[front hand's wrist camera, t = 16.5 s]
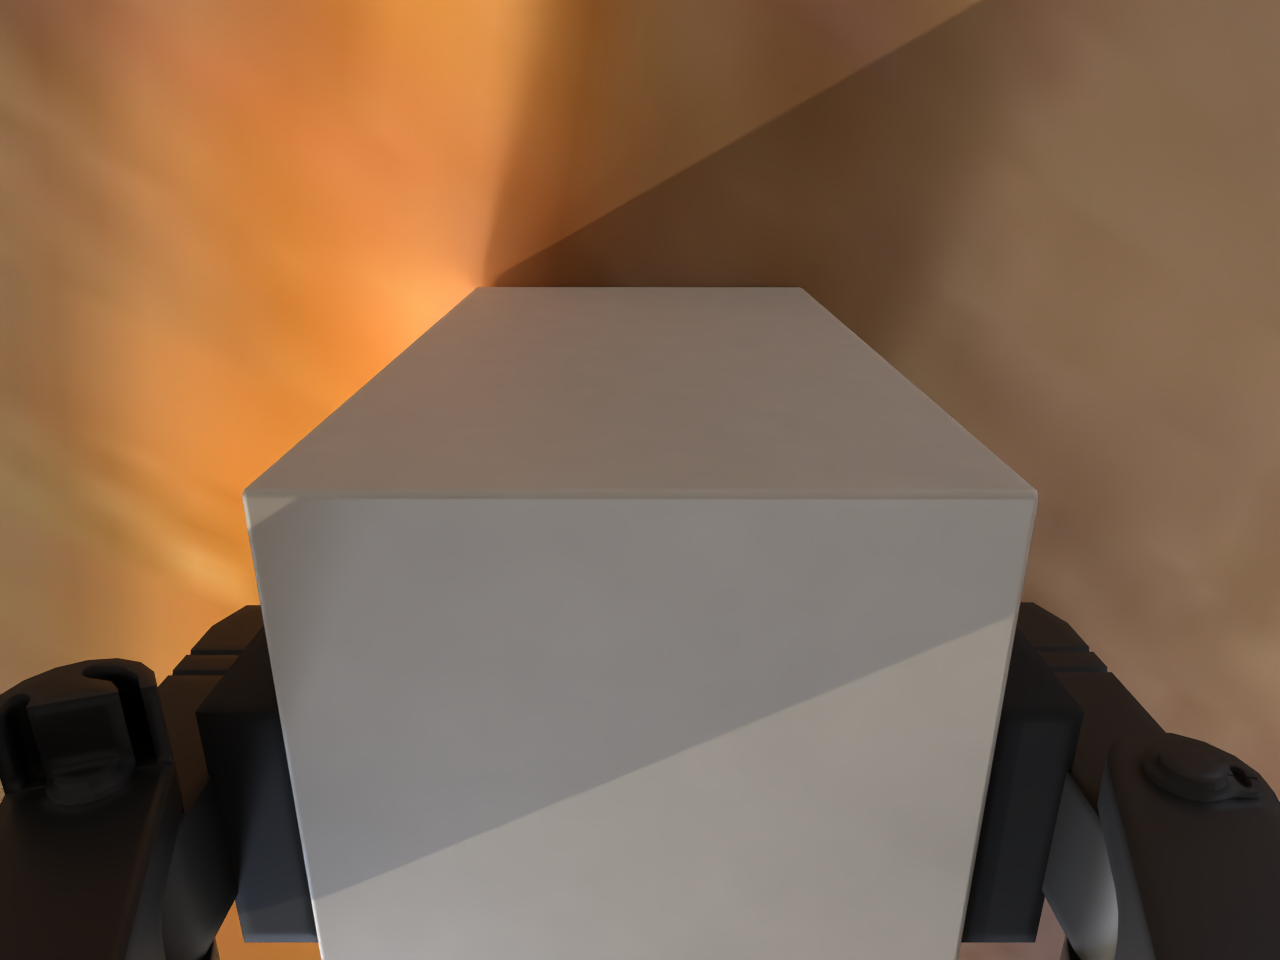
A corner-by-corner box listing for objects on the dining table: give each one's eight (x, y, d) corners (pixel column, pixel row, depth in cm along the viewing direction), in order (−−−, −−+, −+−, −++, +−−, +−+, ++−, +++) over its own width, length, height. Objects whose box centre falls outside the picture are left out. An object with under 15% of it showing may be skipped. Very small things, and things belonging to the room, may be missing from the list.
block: (781, 606, 19) (935, 1101, 9) (496, 606, 19) (343, 1102, 9) (802, 287, 17) (1044, 491, 7) (475, 286, 17) (236, 490, 7)
